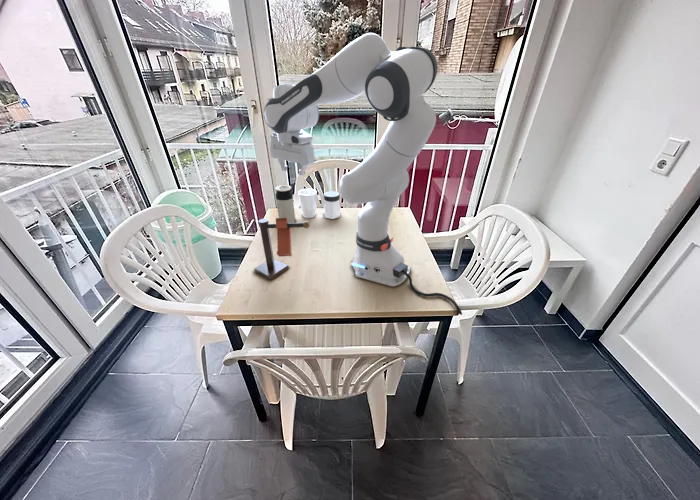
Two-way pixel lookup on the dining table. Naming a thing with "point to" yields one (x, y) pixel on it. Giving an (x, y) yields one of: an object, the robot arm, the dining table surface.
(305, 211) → the foam cup
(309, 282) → the dining table surface
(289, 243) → the hook block
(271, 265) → the peg stand
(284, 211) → the travel mug
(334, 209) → the jar
